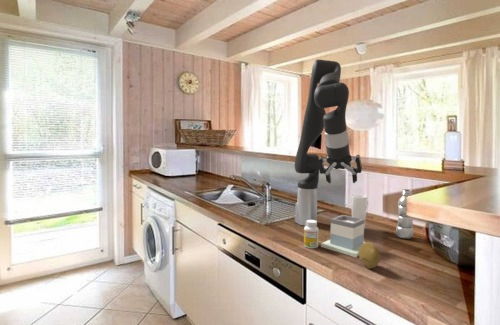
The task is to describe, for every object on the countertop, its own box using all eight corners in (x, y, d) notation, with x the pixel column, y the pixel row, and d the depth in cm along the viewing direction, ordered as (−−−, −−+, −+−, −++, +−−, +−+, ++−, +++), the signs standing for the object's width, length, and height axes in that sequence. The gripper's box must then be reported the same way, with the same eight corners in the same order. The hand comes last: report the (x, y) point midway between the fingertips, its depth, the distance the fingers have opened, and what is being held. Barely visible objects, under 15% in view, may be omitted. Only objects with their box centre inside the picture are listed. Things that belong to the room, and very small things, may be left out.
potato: (360, 260, 104) (361, 237, 104) (384, 266, 99) (385, 242, 99) (352, 266, 99) (353, 242, 98) (377, 274, 94) (378, 248, 93)
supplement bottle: (308, 242, 121) (308, 218, 120) (320, 245, 117) (321, 220, 116) (301, 246, 117) (301, 221, 116) (313, 249, 113) (314, 224, 112)
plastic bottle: (391, 236, 129) (394, 189, 127) (403, 234, 132) (406, 188, 130) (405, 241, 123) (407, 192, 121) (416, 239, 126) (420, 191, 124)
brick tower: (320, 246, 116) (321, 219, 115) (338, 237, 126) (339, 212, 125) (356, 257, 107) (357, 227, 106) (372, 246, 117) (373, 219, 116)
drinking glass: (361, 232, 134) (362, 198, 133) (347, 228, 140) (348, 195, 138) (368, 228, 139) (370, 196, 138) (355, 225, 144) (356, 193, 143)
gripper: (359, 135, 104) (363, 176, 111) (317, 138, 110) (323, 176, 117) (358, 146, 98) (362, 188, 105) (314, 148, 104) (320, 187, 111)
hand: (341, 182), depth 111 cm, fingers open, 8 cm apart
